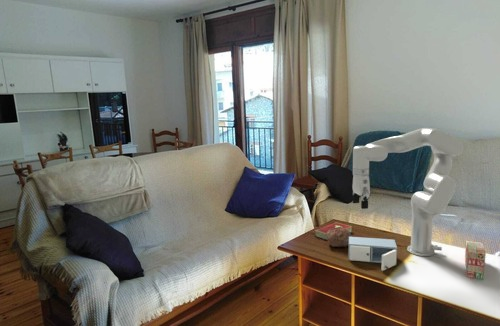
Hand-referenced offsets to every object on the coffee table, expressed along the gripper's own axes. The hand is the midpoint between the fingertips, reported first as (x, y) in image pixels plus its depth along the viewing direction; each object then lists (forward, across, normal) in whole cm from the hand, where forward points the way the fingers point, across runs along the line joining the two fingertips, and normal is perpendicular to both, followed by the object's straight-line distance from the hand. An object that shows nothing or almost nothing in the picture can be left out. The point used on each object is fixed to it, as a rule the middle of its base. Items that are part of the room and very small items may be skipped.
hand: (360, 205), depth 171 cm
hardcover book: (+28, +33, +1) cm, 43 cm away
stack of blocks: (+28, -21, -46) cm, 57 cm away
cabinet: (+27, -2, -5) cm, 27 cm away
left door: (+27, -15, -9) cm, 32 cm away
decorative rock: (+27, +16, +5) cm, 32 cm away
